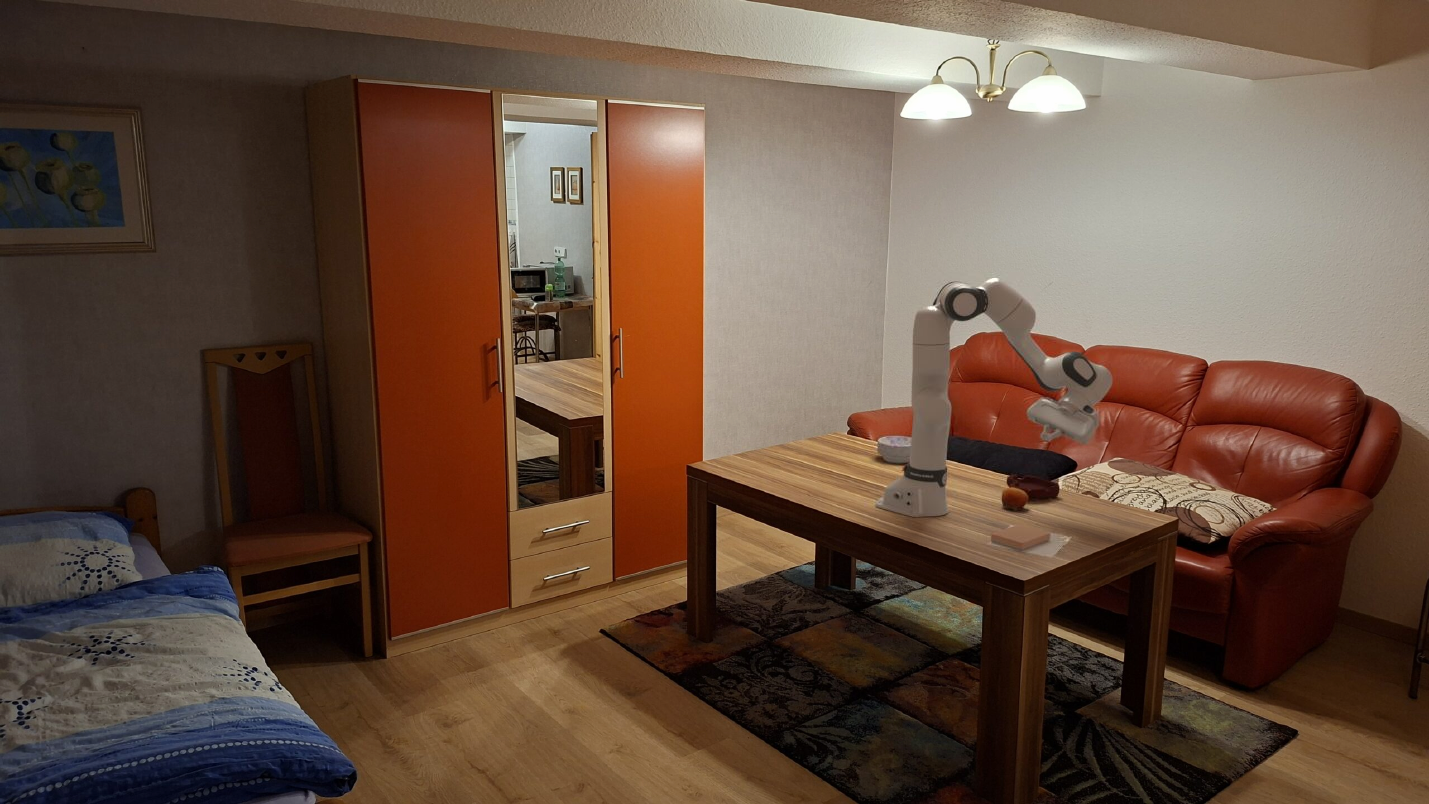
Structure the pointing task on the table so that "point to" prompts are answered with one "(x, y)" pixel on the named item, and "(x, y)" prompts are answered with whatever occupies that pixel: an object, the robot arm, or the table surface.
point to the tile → (1020, 537)
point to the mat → (1041, 546)
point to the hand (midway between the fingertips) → (1044, 438)
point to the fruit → (1014, 498)
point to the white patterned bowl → (895, 449)
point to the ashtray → (1034, 487)
